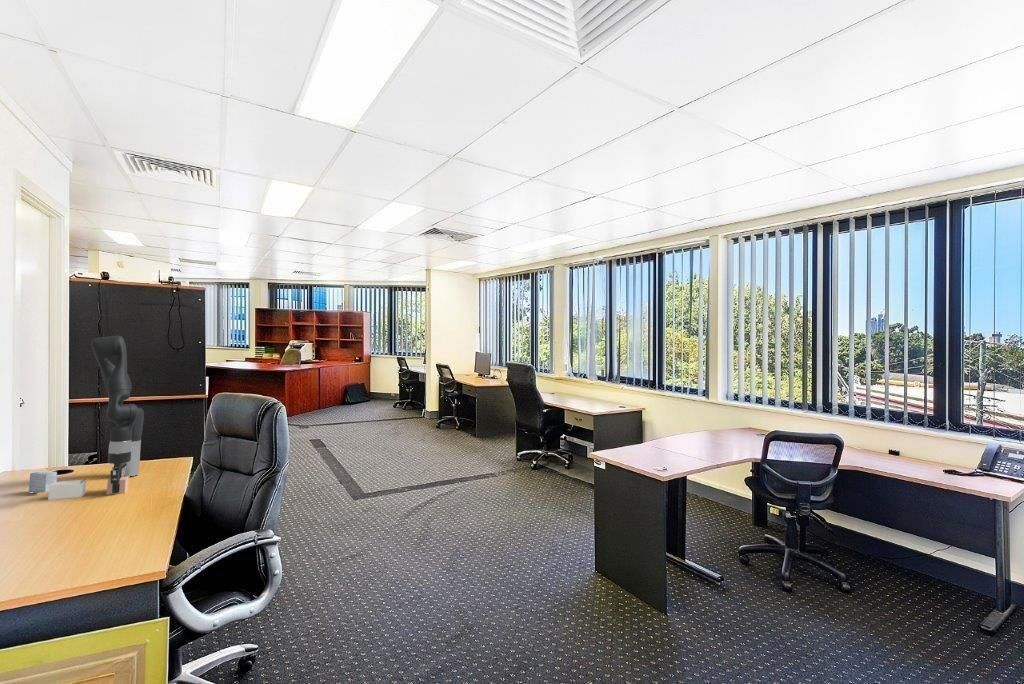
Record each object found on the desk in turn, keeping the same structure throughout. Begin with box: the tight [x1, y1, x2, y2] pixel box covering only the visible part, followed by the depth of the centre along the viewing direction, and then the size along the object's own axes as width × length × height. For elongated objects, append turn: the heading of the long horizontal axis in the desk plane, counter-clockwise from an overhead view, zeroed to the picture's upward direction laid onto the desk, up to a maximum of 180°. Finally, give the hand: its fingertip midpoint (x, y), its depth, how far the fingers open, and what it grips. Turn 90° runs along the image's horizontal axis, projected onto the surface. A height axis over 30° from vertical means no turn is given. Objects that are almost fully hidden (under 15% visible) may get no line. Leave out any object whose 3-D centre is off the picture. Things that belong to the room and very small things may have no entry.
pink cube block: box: [106, 477, 130, 496], centre depth 195 cm, size 5×6×6 cm
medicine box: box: [28, 470, 58, 494], centre depth 195 cm, size 8×4×9 cm, turn 84°
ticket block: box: [47, 479, 87, 501], centre depth 187 cm, size 5×10×6 cm, turn 119°
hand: (117, 490), depth 195 cm, fingers closed on pink cube block, 5 cm apart
